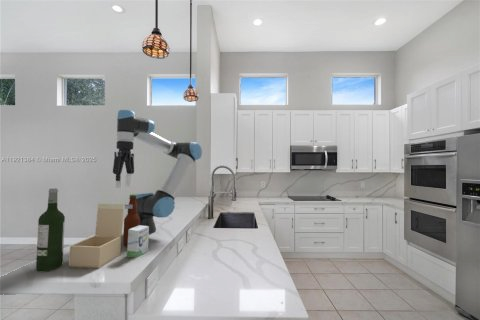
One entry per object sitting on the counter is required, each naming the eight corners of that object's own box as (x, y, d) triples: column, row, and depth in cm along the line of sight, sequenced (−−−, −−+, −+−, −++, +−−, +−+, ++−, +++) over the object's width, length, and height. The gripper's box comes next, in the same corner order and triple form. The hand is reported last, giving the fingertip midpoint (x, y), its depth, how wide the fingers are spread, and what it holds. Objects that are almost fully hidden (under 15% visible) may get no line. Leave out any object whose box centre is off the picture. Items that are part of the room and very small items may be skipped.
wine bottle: (30, 269, 86) (35, 189, 87) (54, 262, 93) (57, 187, 95) (44, 273, 83) (48, 190, 85) (67, 265, 91) (70, 188, 92)
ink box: (138, 250, 109) (139, 224, 109) (148, 251, 108) (149, 225, 108) (126, 256, 100) (127, 229, 101) (136, 258, 99) (137, 230, 100)
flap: (94, 235, 103) (105, 232, 111) (121, 236, 103) (130, 233, 110) (97, 203, 105) (108, 202, 113) (124, 204, 105) (132, 203, 112)
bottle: (140, 242, 120) (142, 193, 121) (137, 247, 113) (139, 195, 114) (125, 243, 118) (127, 194, 119) (121, 248, 111) (123, 195, 112)
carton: (94, 253, 103) (94, 235, 103) (120, 254, 102) (120, 236, 103) (69, 267, 89) (70, 246, 89) (99, 268, 88) (100, 247, 89)
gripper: (128, 143, 126) (127, 185, 125) (104, 138, 106) (102, 188, 105) (142, 143, 126) (141, 185, 125) (120, 138, 105) (118, 189, 104)
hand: (123, 187), depth 115 cm, fingers open, 8 cm apart
